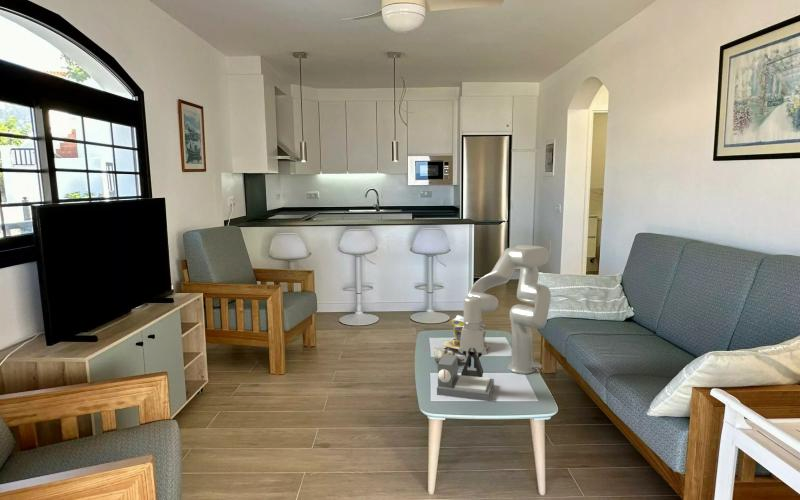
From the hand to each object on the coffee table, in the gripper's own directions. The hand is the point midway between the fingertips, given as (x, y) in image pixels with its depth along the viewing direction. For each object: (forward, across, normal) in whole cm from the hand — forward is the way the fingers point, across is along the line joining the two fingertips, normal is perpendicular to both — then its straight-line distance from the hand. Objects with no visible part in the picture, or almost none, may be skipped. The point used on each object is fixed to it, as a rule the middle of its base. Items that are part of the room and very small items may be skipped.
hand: (472, 366), depth 203 cm
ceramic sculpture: (+11, +18, -28) cm, 35 cm away
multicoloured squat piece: (+11, +14, -52) cm, 55 cm away
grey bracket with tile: (+11, +3, 0) cm, 11 cm away
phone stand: (+3, 0, 0) cm, 3 cm away
